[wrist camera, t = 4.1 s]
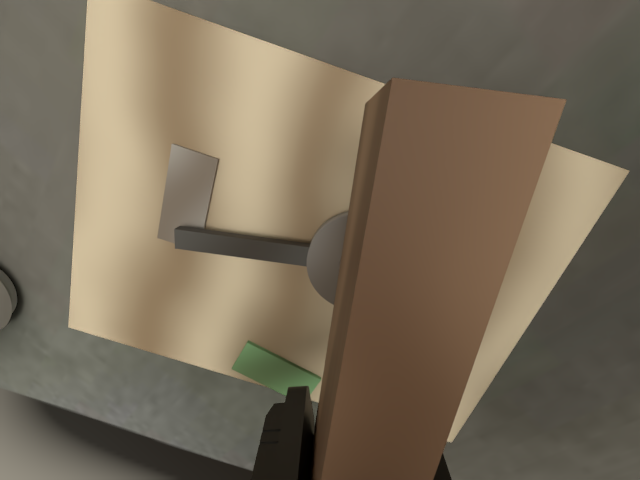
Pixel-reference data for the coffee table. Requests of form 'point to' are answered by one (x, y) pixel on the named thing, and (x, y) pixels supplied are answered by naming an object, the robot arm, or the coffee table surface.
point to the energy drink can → (6, 299)
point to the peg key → (411, 267)
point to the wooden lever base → (253, 199)
